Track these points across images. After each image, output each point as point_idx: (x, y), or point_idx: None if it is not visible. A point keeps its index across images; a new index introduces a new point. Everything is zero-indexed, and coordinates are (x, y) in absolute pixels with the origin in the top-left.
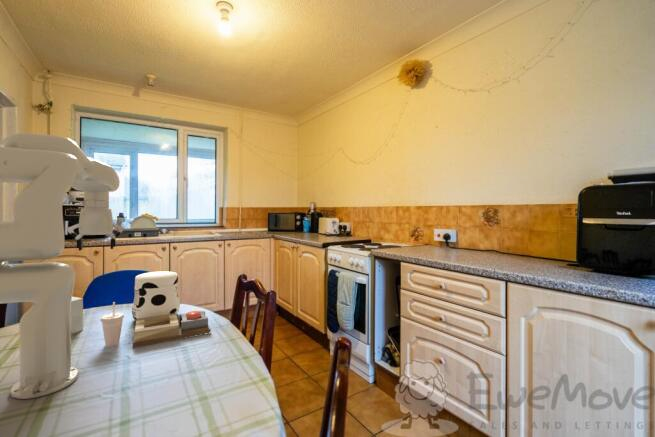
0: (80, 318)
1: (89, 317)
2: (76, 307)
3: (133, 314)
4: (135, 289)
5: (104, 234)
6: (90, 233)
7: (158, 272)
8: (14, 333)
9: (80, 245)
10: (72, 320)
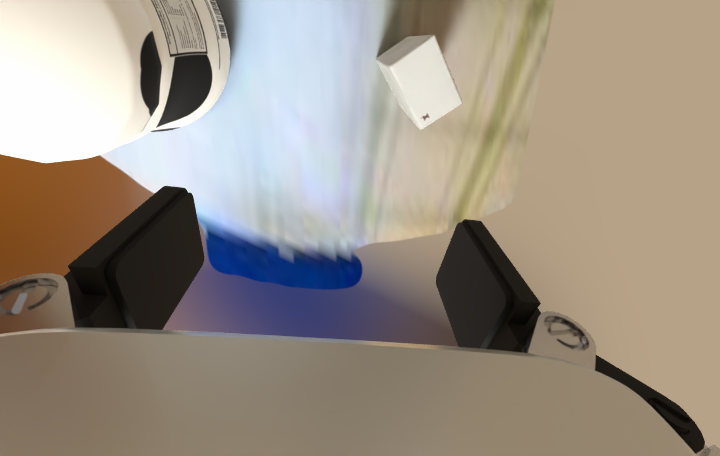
0: (387, 55)
1: (356, 173)
2: (407, 47)
3: (216, 7)
4: (154, 8)
5: (134, 330)
6: (439, 361)
7: (7, 125)
8: (510, 145)
9: (482, 252)
10: (410, 39)
